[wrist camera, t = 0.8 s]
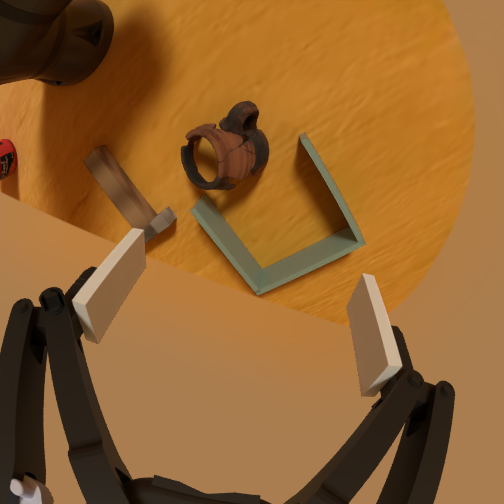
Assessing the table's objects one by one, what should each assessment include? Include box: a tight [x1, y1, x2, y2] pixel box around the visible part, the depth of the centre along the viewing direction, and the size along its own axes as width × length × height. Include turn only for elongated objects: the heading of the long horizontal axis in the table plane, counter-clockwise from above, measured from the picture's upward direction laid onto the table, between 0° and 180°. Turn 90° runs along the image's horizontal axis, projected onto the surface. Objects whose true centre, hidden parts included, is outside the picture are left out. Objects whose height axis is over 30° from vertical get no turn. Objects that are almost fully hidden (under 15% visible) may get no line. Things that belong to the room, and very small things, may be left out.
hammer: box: [83, 145, 177, 243], centre depth 38 cm, size 16×8×3 cm, turn 34°
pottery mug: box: [181, 101, 269, 190], centre depth 32 cm, size 12×10×8 cm
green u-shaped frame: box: [190, 132, 366, 296], centre depth 36 cm, size 15×17×5 cm
